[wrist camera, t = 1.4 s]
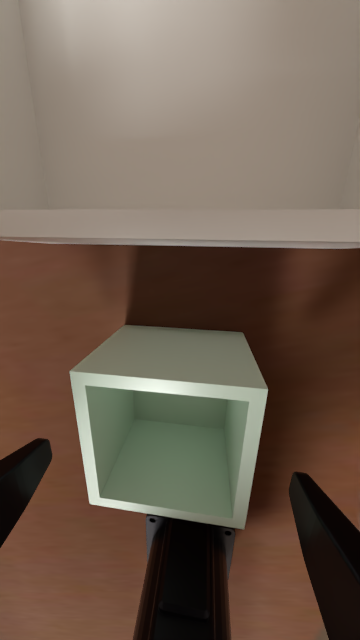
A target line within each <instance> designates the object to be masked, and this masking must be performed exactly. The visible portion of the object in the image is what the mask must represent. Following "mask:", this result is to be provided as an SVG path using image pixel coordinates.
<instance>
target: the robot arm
mask: <svg viewBox="0 0 360 640" xmlns="http://www.w3.org/2000/svg"><path fill="white" fill-rule="evenodd" d="M51 459H52V451H51V446H50V442H49V440H48V439H43V438H37V439H35V440H33V441H32V442H30V443H28V444H27V445H25V446H23V447H22V448H20V449H18V450H17V451H15V452H13V453H12V454H10V455H8V456H7V457H5V458H3V459H2V460H0V548H1V546H2V545H3V543H4V541H5V540H6V538H7V537H8V535H9V534H10V532H11V531H12V529H13V527H14V526H15V524H16V523H17V521H18V520H19V518H20V516H21V515H22V513H23V511H24V510H25V508H26V506H27V505H28V503H29V501H30V499H31V497H32V496H33V494H34V492H35V490H36V488H37V486H38V484H39V483H40V481H41V479H42V477H43V475H44V473H45V471H46V470H47V468H48V466H49V464H50V462H51ZM289 496H290V501H291V505H292V510H293V514H294V518H295V523H296V527H297V532H298V536H299V540H300V545H301V549H302V553H303V557H304V561H305V564H306V567H307V571H308V574H309V577H310V580H311V584H312V587H313V590H314V593H315V596H316V600H317V603H318V606H319V609H320V612H321V615H322V619H323V622H324V625H325V628H326V631H327V635H328V638H329V640H360V531H359V530H358V529H357V528H356V527H355V526H354V525H353V524H352V523H351V521H350V520H349V519H348V518H347V517H346V516H345V515H344V514H343V513H342V511H341V510H340V509H339V508H338V507H337V506H336V505H335V504H334V503H333V502H332V500H331V499H330V498H329V497H328V496H327V495H326V494H325V493H324V492H323V490H322V489H321V488H320V487H319V486H318V485H317V484H316V483H315V482H314V480H313V479H312V478H311V477H310V476H309V475H308V474H306V473H302V472H294V473H293V475H292V479H291V483H290V487H289ZM146 537H147V562H148V564H147V569H146V574H145V579H144V584H143V590H142V595H141V600H140V605H139V610H138V615H137V620H136V625H135V631H134V636H133V640H231V627H230V611H229V594H228V578H229V571H230V565H231V558H232V552H233V545H234V539H235V528H232V527H226V526H220V525H214V524H208V523H202V522H196V521H190V520H184V519H178V518H172V517H166V516H159V515H153V514H147V516H146Z"/></svg>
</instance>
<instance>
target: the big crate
mask: <svg viewBox="0 0 360 640" xmlns="http://www.w3.org/2000/svg"><path fill="white" fill-rule="evenodd" d="M0 240H6V241H21V242H35V243H50V244H101V245H155V246H208V247H262V248H316V249H350V248H360V0H0Z"/></svg>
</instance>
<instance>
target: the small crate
mask: <svg viewBox="0 0 360 640" xmlns="http://www.w3.org/2000/svg"><path fill="white" fill-rule="evenodd" d="M70 378H71V384H72V391H73V398H74V404H75V411H76V417H77V424H78V430H79V437H80V443H81V450H82V457H83V463H84V470H85V476H86V483H87V489H88V496H89V502H90V504H93V505H99V506H105V507H111V508H117V509H123V510H129V511H135V512H141V513H147V514H153V515H159V516H166V517H172V518H178V519H184V520H190V521H196V522H202V523H208V524H214V525H220V526H226V527H232V528H238V529H244V528H245V522H246V516H247V510H248V505H249V499H250V493H251V487H252V481H253V475H254V470H255V464H256V458H257V452H258V446H259V440H260V434H261V429H262V423H263V417H264V411H265V405H266V399H267V393H268V388H267V386H266V383H265V381H264V379H263V377H262V374H261V372H260V370H259V368H258V365H257V363H256V361H255V359H254V356H253V354H252V352H251V350H250V347H249V345H248V343H247V341H246V339H245V336H244V334H243V332H231V331H215V330H199V329H183V328H168V327H152V326H136V325H124V326H122V327H121V328H120V329H119V330H118V331H117V332H115V333H114V334H113V335H112V336H111V337H109V338H108V339H107V340H106V341H105V342H103V343H102V344H101V345H100V346H99V347H98V348H96V349H95V350H94V351H93V352H92V353H90V354H89V355H88V356H87V357H86V358H85V359H83V360H82V361H81V362H80V363H79V364H77V365H76V366H75V367H74V368H73V369H72V370H70Z"/></svg>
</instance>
